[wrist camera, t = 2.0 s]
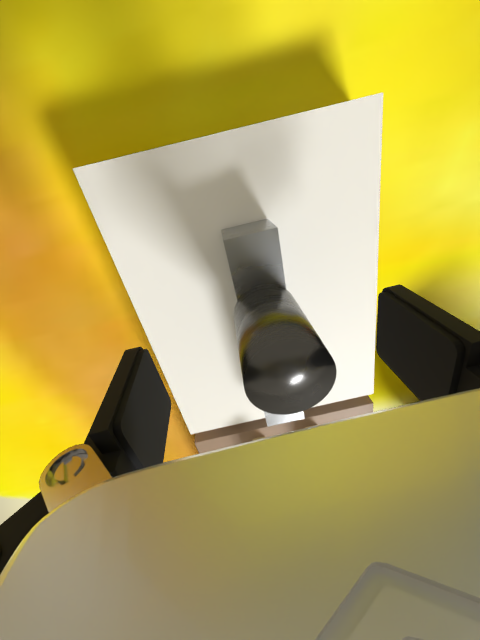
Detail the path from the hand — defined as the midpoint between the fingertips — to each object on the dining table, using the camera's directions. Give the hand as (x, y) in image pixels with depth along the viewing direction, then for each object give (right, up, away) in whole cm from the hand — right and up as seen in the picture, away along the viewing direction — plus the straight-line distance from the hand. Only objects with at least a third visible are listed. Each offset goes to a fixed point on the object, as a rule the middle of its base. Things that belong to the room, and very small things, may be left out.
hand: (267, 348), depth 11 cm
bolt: (0, +1, +6) cm, 6 cm away
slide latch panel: (+1, 0, +10) cm, 10 cm away
